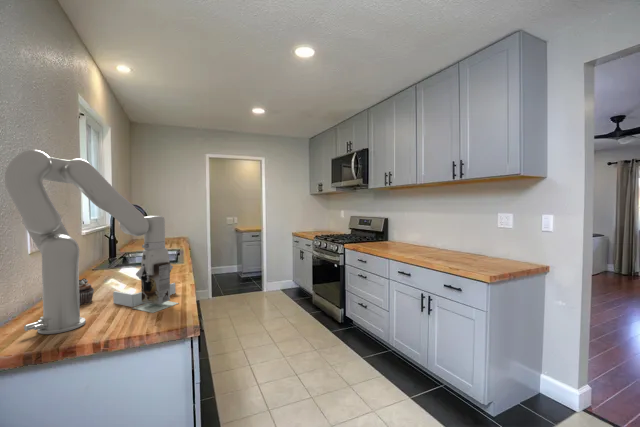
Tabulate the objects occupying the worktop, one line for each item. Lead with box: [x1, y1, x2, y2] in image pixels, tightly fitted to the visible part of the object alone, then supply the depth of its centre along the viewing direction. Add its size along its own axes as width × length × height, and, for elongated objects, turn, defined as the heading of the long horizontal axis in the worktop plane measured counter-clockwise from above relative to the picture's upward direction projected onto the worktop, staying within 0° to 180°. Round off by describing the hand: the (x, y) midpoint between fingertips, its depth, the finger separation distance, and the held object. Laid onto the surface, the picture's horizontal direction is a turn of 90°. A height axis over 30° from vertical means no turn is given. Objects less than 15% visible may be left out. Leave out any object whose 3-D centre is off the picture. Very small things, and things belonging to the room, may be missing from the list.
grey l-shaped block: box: [112, 282, 176, 308], centre depth 137 cm, size 21×12×5 cm, turn 156°
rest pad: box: [131, 300, 180, 314], centre depth 126 cm, size 12×12×1 cm
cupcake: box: [79, 277, 95, 306], centre depth 131 cm, size 10×10×10 cm
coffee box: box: [140, 262, 171, 304], centre depth 126 cm, size 9×6×16 cm
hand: (155, 288), depth 126 cm, fingers closed on coffee box, 6 cm apart
